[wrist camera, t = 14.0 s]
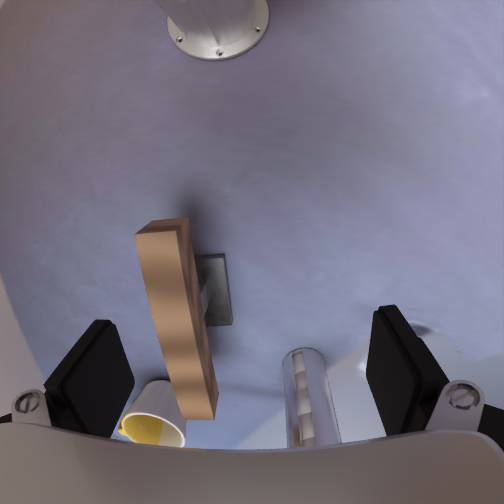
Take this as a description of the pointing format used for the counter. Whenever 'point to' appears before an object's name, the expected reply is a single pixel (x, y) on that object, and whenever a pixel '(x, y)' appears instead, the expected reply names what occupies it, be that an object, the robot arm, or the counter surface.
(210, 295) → the ridge
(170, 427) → the mug
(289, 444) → the silver metal cylinder
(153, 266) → the walnut beam
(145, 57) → the counter surface
